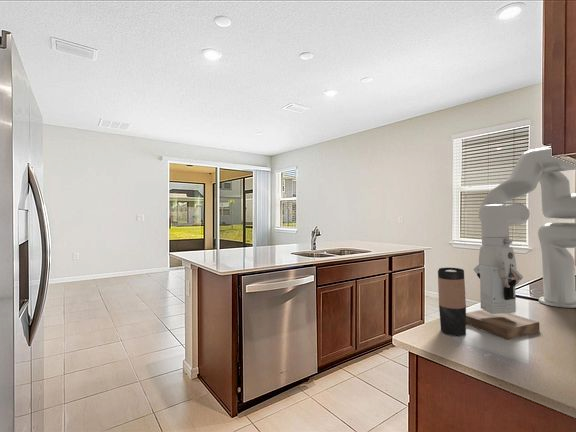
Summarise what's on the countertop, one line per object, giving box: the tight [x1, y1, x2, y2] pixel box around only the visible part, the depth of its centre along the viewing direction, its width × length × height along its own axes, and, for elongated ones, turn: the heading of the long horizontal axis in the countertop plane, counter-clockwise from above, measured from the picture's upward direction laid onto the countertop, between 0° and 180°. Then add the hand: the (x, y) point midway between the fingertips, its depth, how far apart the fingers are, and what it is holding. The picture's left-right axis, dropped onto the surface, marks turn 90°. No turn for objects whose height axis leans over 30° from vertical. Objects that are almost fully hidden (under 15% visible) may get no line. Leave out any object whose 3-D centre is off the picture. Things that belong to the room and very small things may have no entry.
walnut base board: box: [466, 309, 540, 340], centre depth 103 cm, size 14×16×3 cm
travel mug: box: [437, 267, 467, 337], centre depth 101 cm, size 8×8×20 cm
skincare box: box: [479, 265, 517, 314], centre depth 103 cm, size 8×6×15 cm
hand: (497, 296), depth 103 cm, fingers closed on skincare box, 6 cm apart
